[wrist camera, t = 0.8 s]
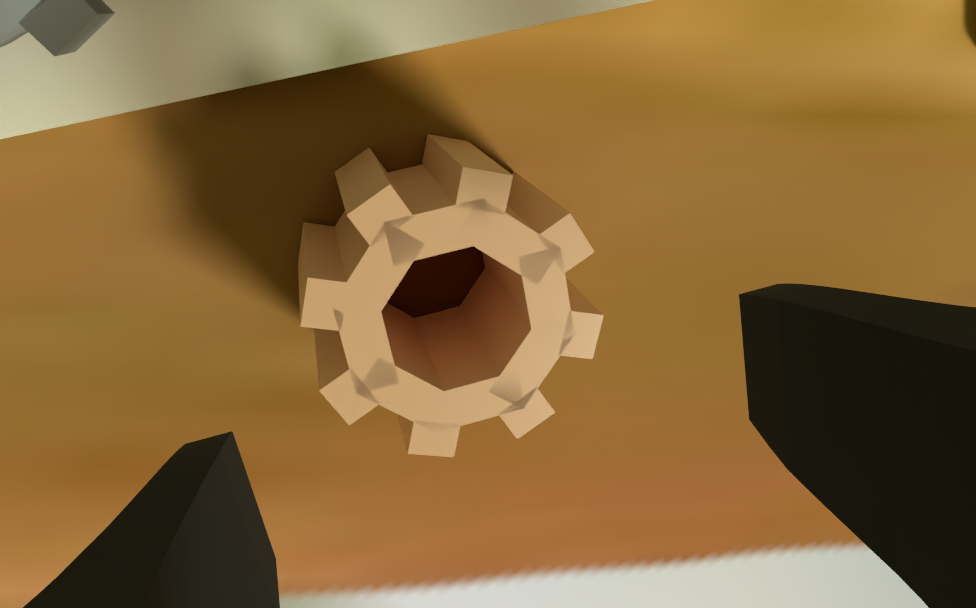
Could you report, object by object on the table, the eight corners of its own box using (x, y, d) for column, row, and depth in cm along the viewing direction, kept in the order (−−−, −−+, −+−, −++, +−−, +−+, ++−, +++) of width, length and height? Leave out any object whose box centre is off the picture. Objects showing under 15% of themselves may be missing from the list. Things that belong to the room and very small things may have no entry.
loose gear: (520, 112, 18) (578, 139, 15) (558, 337, 20) (617, 410, 17) (271, 169, 18) (267, 212, 14) (336, 396, 20) (347, 487, 16)
